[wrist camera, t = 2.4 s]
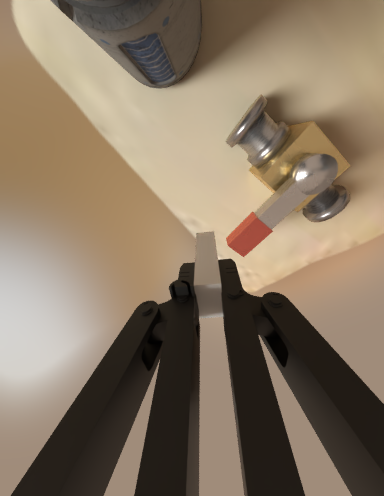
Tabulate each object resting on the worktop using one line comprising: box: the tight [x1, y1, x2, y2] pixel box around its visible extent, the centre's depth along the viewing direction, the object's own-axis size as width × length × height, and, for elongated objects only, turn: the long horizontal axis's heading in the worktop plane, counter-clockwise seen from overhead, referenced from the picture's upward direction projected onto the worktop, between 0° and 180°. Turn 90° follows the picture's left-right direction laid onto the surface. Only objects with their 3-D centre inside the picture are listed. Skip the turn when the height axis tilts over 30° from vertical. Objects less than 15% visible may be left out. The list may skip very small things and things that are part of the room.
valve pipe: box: [226, 94, 350, 222], centre depth 24 cm, size 18×7×8 cm, turn 53°
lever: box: [226, 153, 338, 257], centre depth 21 cm, size 14×4×2 cm, turn 143°
